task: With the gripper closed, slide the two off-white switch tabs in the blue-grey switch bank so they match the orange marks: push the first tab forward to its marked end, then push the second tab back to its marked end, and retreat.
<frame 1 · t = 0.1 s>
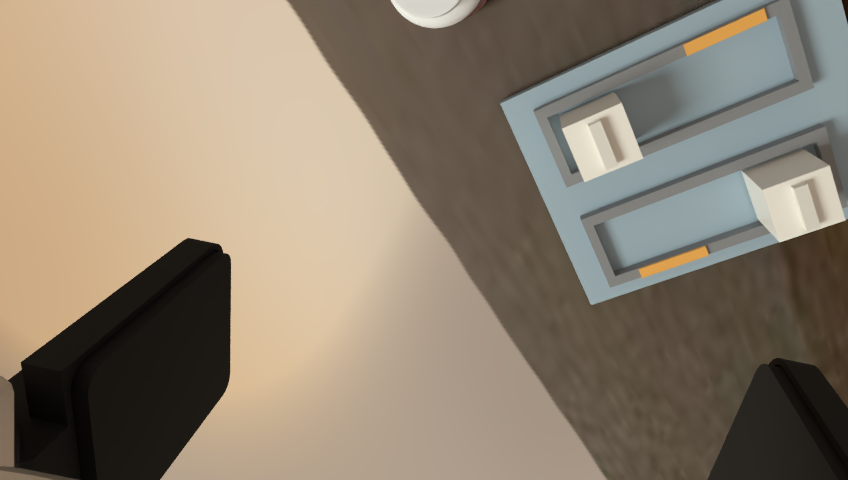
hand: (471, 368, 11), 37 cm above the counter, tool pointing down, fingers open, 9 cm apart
switch bank: (689, 148, 45), on the counter
tab 1: (599, 136, 41), point 4 cm above the counter, slide at 0.0 cm
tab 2: (792, 195, 41), point 4 cm above the counter, slide at 10.0 cm
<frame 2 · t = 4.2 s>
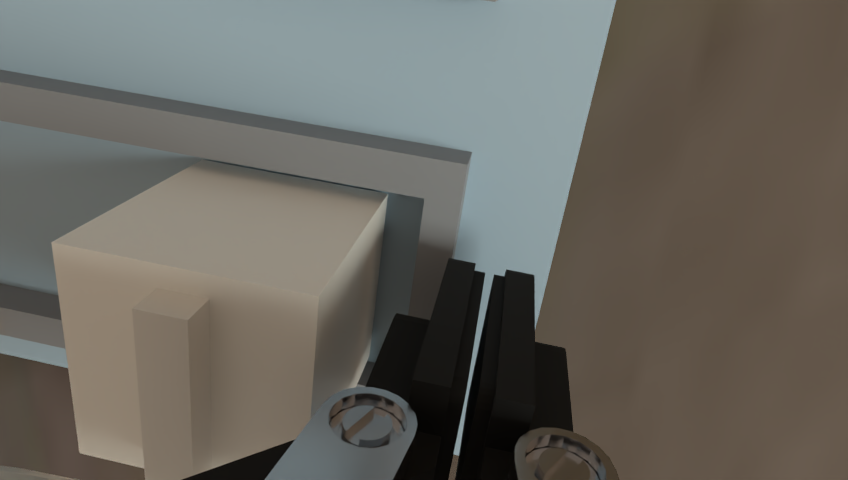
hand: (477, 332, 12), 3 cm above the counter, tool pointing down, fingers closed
switch bank: (82, 5, 13), on the counter
tab 1: (240, 320, 11), point 4 cm above the counter, slide at 0.0 cm, touching gripper
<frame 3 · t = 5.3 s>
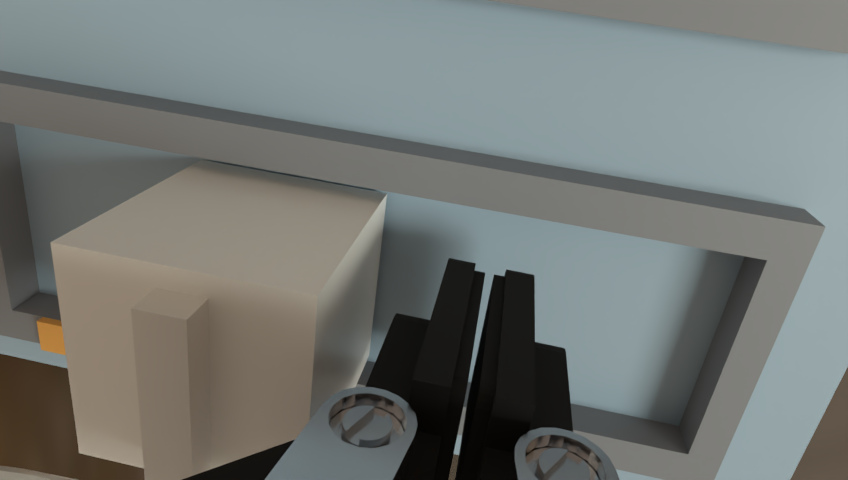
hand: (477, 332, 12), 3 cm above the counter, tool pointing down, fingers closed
switch bank: (359, 50, 13), on the counter
tab 1: (239, 320, 11), point 4 cm above the counter, slide at 6.3 cm, touching gripper
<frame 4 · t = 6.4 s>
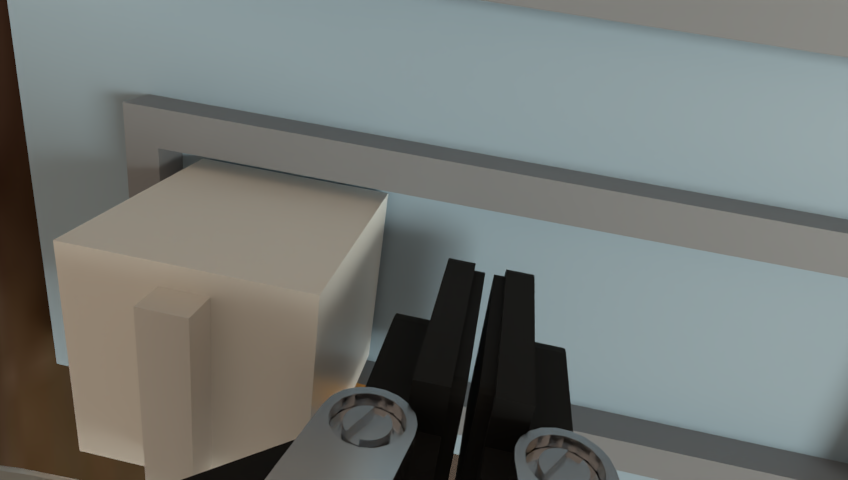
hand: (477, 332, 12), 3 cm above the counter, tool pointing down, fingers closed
switch bank: (547, 81, 12), on the counter
tab 1: (240, 318, 11), point 4 cm above the counter, slide at 10.2 cm, touching gripper
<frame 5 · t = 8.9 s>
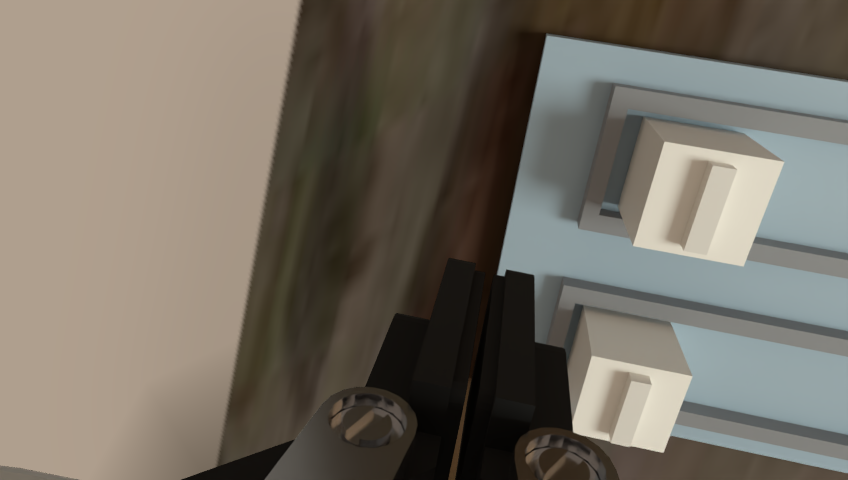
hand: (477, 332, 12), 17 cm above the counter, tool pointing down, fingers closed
switch bank: (740, 271, 28), on the counter
tab 1: (622, 378, 27), point 4 cm above the counter, slide at 10.3 cm
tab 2: (692, 189, 23), point 4 cm above the counter, slide at 10.0 cm
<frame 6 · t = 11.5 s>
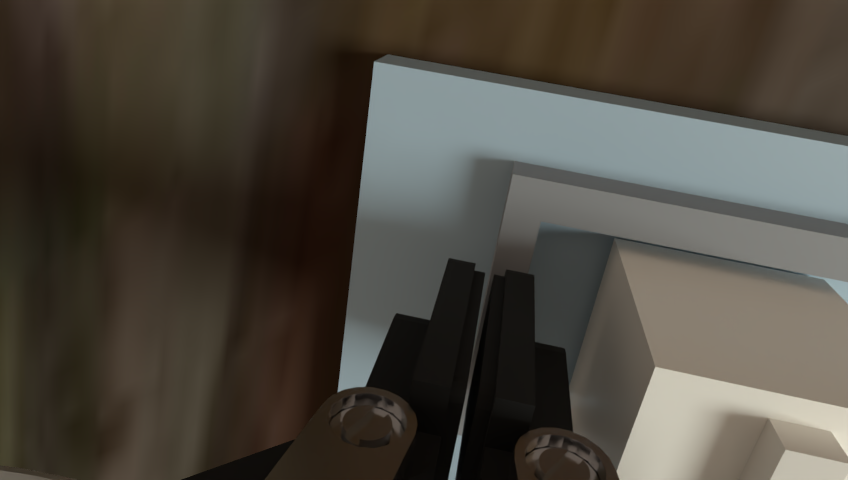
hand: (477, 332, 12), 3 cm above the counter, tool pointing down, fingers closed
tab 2: (717, 423, 10), point 4 cm above the counter, slide at 9.3 cm, touching gripper
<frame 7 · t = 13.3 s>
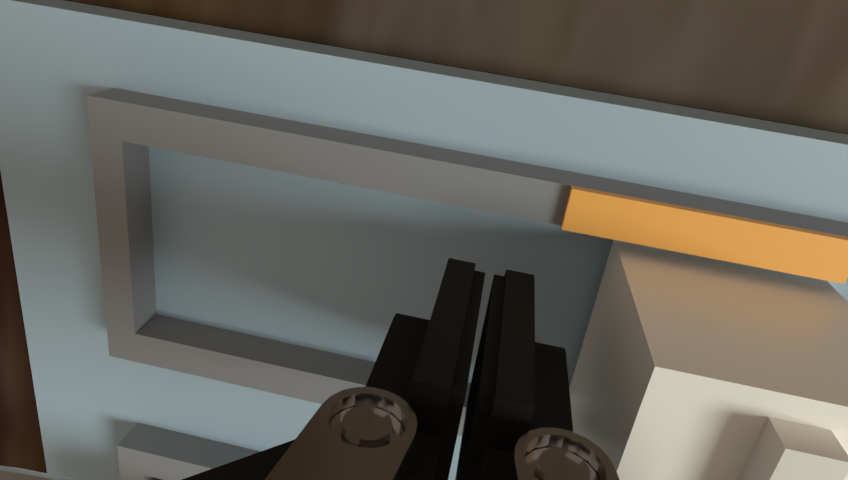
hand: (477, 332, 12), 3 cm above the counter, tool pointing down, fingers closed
switch bank: (441, 418, 16), on the counter
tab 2: (718, 422, 10), point 4 cm above the counter, slide at 0.8 cm, touching gripper
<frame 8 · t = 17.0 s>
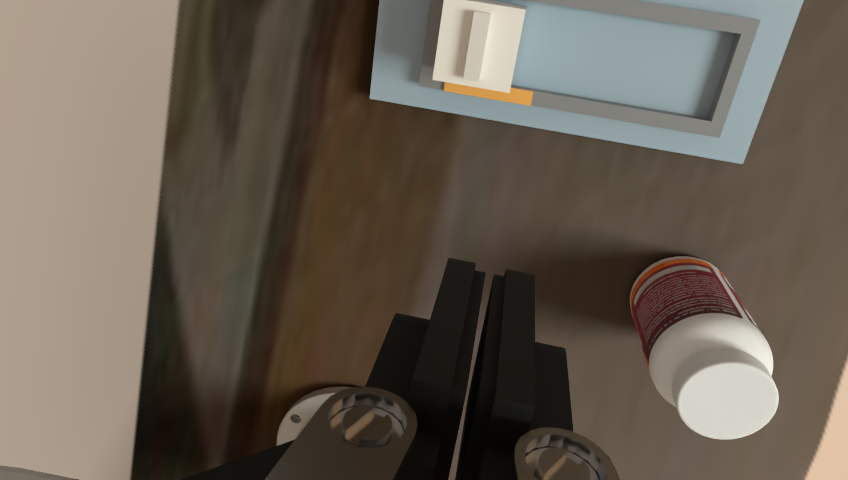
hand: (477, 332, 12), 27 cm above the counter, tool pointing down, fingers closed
pill bottle: (677, 294, 40), on the counter
tab 1: (480, 42, 32), point 4 cm above the counter, slide at 10.3 cm
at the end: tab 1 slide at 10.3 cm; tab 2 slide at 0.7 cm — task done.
